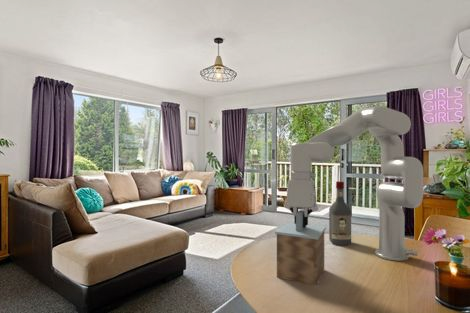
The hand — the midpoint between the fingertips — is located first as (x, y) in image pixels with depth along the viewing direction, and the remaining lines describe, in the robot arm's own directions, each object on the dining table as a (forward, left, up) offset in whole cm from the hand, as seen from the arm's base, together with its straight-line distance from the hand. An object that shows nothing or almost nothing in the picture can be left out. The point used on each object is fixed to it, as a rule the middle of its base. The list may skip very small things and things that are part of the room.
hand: (301, 226), depth 104 cm
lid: (0, 0, -3) cm, 3 cm away
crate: (0, 0, -17) cm, 17 cm away
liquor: (-8, -44, -18) cm, 48 cm away
